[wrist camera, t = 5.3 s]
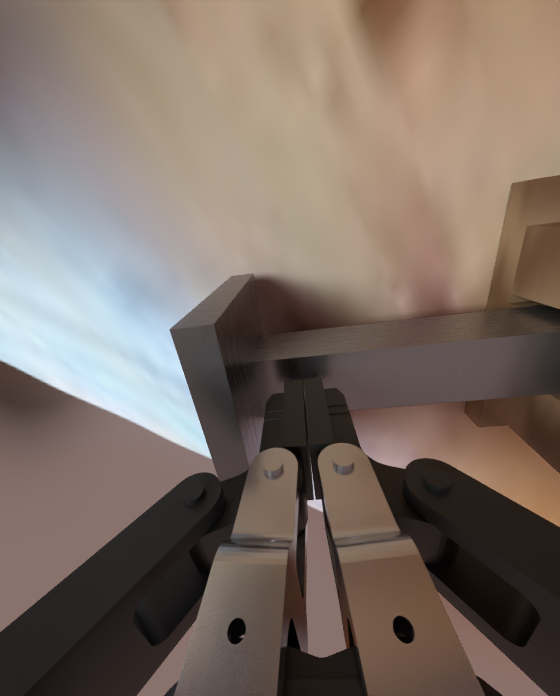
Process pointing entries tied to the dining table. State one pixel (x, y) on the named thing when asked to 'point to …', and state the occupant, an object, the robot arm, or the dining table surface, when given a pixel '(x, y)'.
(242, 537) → the robot arm
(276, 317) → the dining table surface
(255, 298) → the drawbar
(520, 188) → the bearing stand
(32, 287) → the dining table surface
